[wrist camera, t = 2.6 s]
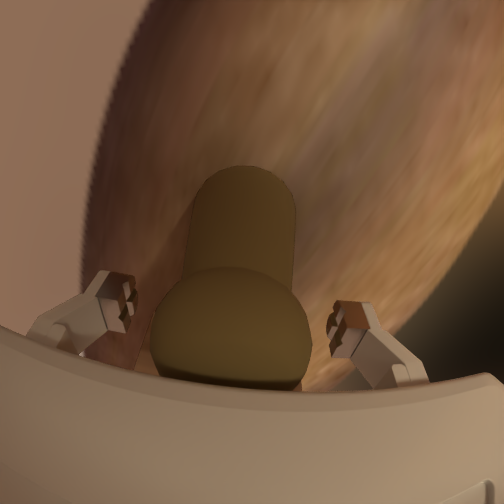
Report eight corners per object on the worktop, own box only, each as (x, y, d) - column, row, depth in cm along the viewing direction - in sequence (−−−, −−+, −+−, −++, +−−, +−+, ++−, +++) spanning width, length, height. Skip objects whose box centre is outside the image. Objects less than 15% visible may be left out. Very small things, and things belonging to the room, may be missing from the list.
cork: (205, 261, 18) (167, 422, 9) (182, 174, 15) (85, 322, 6) (298, 252, 18) (325, 420, 9) (291, 159, 15) (343, 309, 5)
